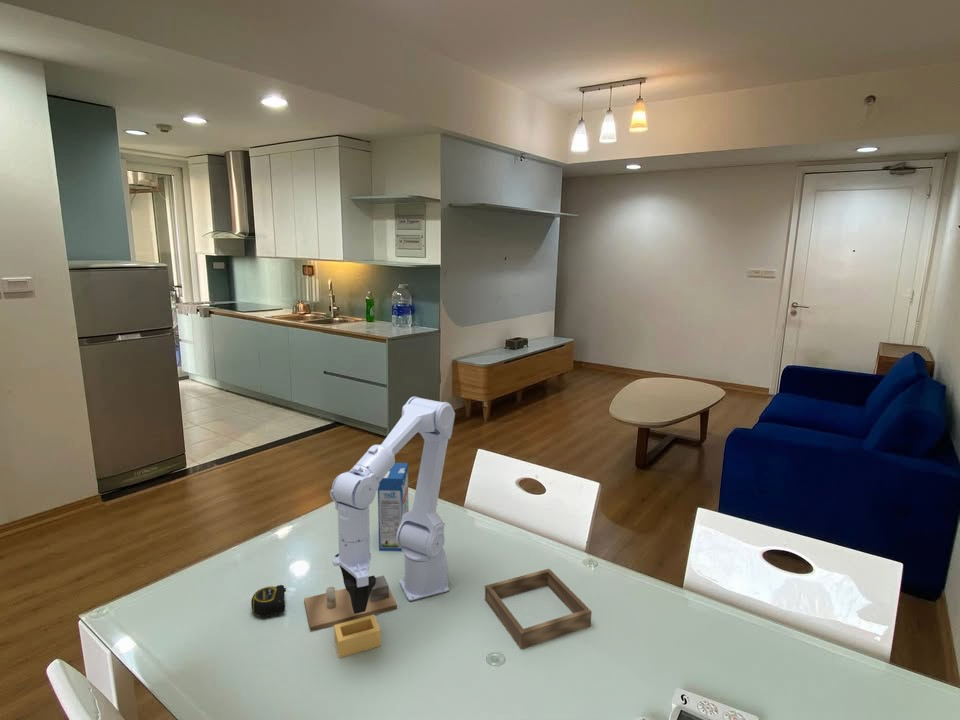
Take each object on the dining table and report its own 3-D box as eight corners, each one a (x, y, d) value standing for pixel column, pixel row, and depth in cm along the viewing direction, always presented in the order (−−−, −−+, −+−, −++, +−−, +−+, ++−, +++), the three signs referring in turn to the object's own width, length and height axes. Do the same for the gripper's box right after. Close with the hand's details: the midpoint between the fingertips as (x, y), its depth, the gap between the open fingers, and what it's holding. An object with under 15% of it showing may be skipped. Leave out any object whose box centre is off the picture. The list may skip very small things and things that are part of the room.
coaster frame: (548, 582, 127) (549, 568, 126) (590, 626, 112) (591, 611, 111) (485, 599, 120) (485, 585, 119) (520, 649, 105) (521, 633, 105)
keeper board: (385, 582, 125) (384, 563, 124) (397, 608, 116) (396, 587, 115) (304, 602, 118) (303, 581, 117) (310, 631, 109) (309, 609, 108)
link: (374, 629, 110) (374, 614, 109) (380, 645, 106) (380, 630, 105) (334, 640, 107) (333, 625, 106) (339, 657, 102) (338, 641, 102)
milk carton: (403, 551, 138) (402, 478, 134) (379, 550, 138) (377, 478, 134) (408, 531, 148) (407, 462, 144) (386, 530, 148) (384, 462, 144)
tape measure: (285, 616, 114) (284, 601, 113) (250, 623, 112) (249, 607, 111) (286, 597, 120) (285, 582, 119) (253, 602, 118) (252, 587, 117)
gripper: (326, 521, 107) (328, 583, 109) (339, 558, 94) (341, 628, 96) (361, 515, 109) (362, 576, 112) (379, 550, 97) (380, 618, 99)
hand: (355, 599), depth 104 cm, fingers open, 7 cm apart
